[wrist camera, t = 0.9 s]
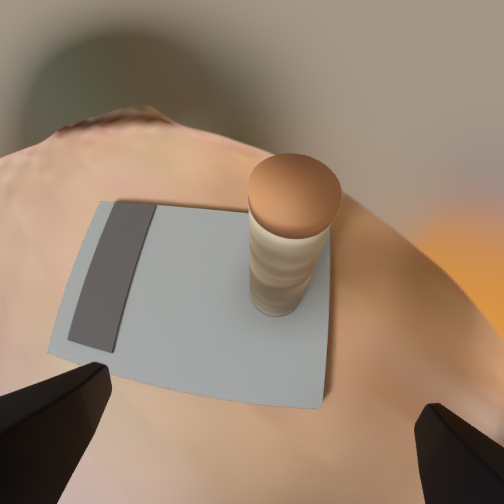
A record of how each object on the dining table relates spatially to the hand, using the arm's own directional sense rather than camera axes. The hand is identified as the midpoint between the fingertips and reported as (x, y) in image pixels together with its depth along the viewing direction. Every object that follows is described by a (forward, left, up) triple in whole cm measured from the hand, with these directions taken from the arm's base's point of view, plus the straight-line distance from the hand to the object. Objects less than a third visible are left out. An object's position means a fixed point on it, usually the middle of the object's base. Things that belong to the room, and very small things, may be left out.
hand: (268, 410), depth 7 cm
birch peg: (+5, +6, -12) cm, 14 cm away
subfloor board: (0, +9, -13) cm, 16 cm away
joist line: (-5, +14, -12) cm, 19 cm away
